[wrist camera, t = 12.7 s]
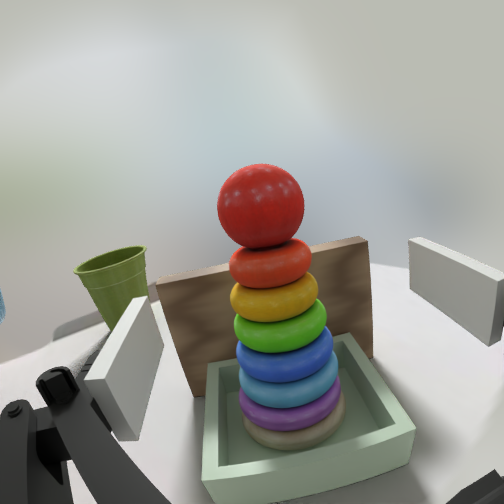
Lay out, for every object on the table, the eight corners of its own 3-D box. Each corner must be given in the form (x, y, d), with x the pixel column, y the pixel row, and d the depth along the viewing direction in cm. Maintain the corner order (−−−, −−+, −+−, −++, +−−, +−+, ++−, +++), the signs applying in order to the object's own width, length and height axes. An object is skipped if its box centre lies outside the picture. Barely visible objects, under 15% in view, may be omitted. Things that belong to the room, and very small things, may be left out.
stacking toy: (360, 438, 19) (340, 150, 14) (248, 465, 19) (168, 182, 14) (330, 377, 27) (301, 156, 22) (242, 397, 26) (187, 178, 22)
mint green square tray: (219, 509, 16) (201, 480, 15) (218, 395, 29) (207, 363, 28) (408, 463, 16) (416, 428, 15) (351, 366, 29) (349, 332, 28)
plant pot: (121, 310, 55) (102, 250, 52) (177, 307, 52) (159, 241, 49) (83, 343, 43) (58, 275, 40) (144, 345, 41) (118, 267, 38)
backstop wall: (193, 397, 29) (155, 284, 26) (195, 384, 31) (159, 276, 28) (372, 357, 29) (367, 240, 26) (365, 347, 31) (358, 236, 28)
